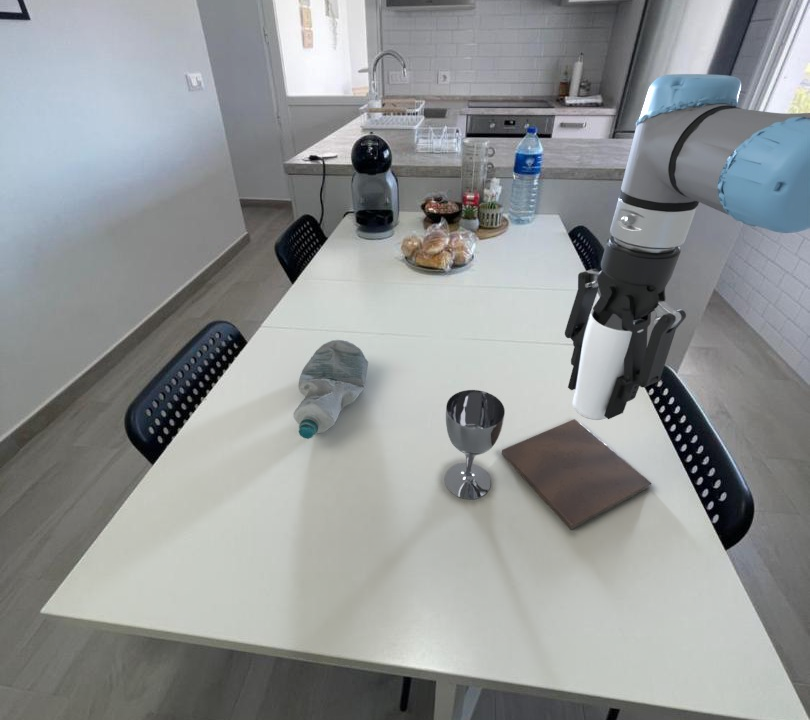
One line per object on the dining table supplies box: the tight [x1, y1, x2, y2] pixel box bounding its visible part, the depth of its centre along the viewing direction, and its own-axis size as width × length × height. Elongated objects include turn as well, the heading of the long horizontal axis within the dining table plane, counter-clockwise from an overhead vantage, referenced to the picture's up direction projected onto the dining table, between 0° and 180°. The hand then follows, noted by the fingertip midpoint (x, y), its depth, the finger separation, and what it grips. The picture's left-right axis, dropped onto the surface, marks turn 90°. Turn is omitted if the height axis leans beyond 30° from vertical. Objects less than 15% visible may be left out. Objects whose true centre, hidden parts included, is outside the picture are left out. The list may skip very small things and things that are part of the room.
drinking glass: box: [572, 309, 643, 421], centre depth 59 cm, size 7×7×15 cm
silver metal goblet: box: [444, 389, 506, 500], centre depth 65 cm, size 8×8×15 cm
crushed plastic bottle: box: [292, 339, 369, 439], centre depth 83 cm, size 13×7×25 cm
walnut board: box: [501, 418, 652, 531], centre depth 71 cm, size 16×16×1 cm
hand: (594, 399), depth 63 cm, fingers closed on drinking glass, 6 cm apart
